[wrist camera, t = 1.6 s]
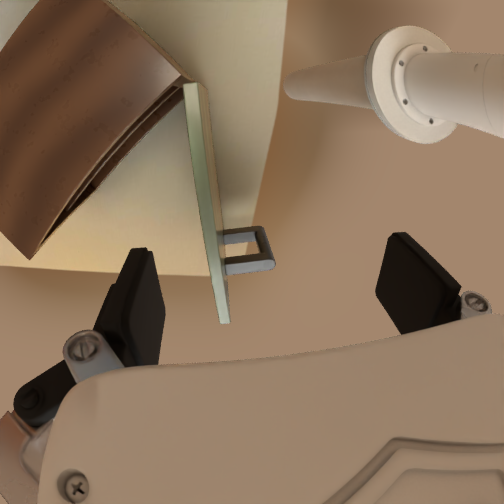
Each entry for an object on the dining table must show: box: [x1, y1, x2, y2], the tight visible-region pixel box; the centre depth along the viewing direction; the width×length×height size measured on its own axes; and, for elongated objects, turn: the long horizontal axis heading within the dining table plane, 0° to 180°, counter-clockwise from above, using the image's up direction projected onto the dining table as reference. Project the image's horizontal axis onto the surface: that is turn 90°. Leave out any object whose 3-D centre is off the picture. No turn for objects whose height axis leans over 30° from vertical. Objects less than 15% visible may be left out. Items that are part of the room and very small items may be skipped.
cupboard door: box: [182, 82, 276, 324], centre depth 29 cm, size 6×20×18 cm, turn 5°
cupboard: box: [0, 0, 195, 260], centre depth 22 cm, size 14×20×18 cm
